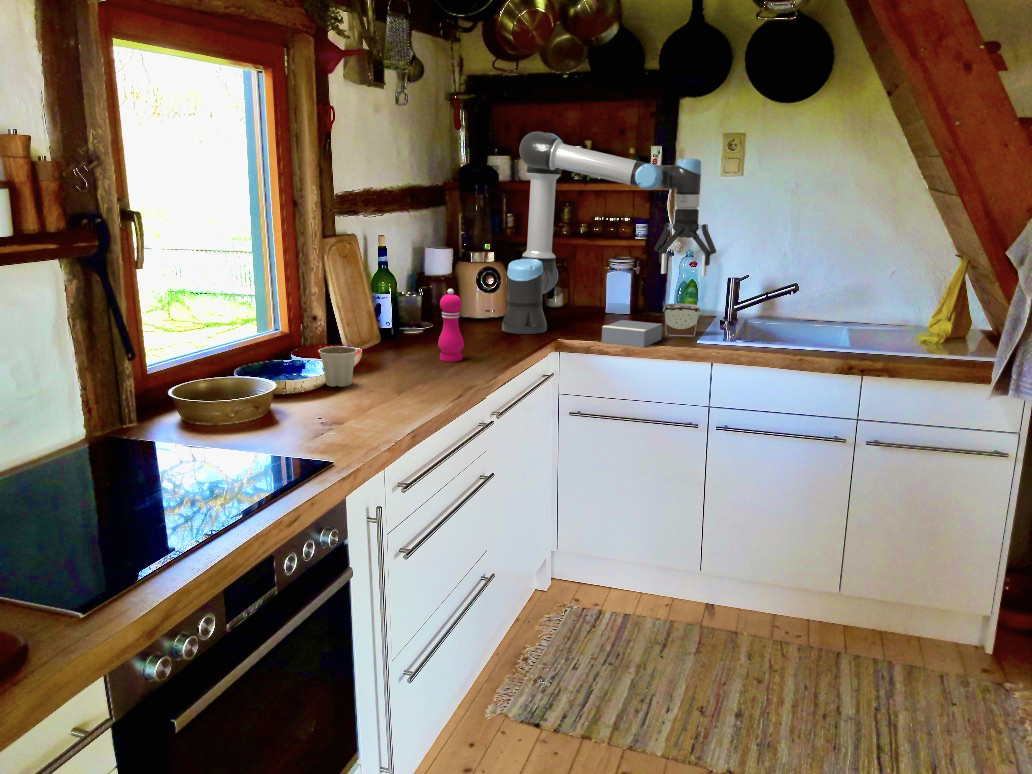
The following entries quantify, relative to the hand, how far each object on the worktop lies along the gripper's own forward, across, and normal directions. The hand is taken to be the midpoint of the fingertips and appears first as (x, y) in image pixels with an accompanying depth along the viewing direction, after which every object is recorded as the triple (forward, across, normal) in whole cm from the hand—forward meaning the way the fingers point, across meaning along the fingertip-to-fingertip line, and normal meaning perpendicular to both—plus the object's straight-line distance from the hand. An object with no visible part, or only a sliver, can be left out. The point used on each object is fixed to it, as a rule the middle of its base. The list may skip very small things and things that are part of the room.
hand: (683, 274), depth 272 cm
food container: (+20, 0, 0) cm, 20 cm away
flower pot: (+20, -49, -113) cm, 125 cm away
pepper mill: (+20, -42, -74) cm, 87 cm away
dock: (+20, -9, -20) cm, 30 cm away
